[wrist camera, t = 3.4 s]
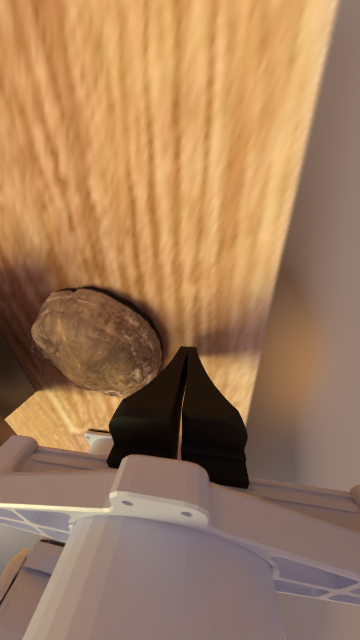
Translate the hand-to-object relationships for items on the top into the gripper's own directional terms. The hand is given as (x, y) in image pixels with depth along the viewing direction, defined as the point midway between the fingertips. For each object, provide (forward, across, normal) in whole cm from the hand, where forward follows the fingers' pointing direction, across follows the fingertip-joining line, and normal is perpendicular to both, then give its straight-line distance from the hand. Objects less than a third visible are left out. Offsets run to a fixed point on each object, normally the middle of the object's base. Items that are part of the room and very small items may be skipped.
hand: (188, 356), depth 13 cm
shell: (+2, +8, 0) cm, 9 cm away
